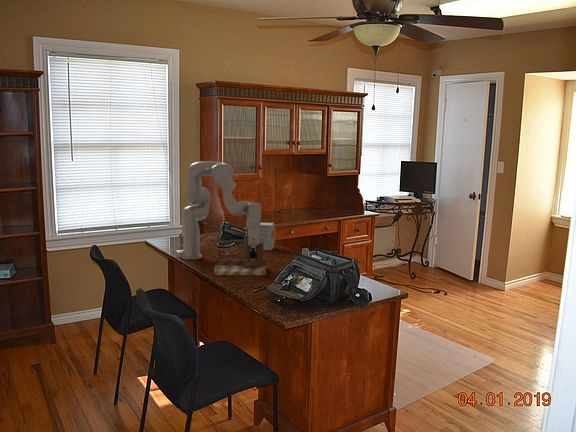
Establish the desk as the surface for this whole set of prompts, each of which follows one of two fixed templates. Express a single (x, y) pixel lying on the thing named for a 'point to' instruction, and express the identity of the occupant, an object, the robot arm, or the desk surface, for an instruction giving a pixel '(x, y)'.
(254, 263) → the wooden block
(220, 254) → the desk surface
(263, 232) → the supplement box
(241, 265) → the marking board
